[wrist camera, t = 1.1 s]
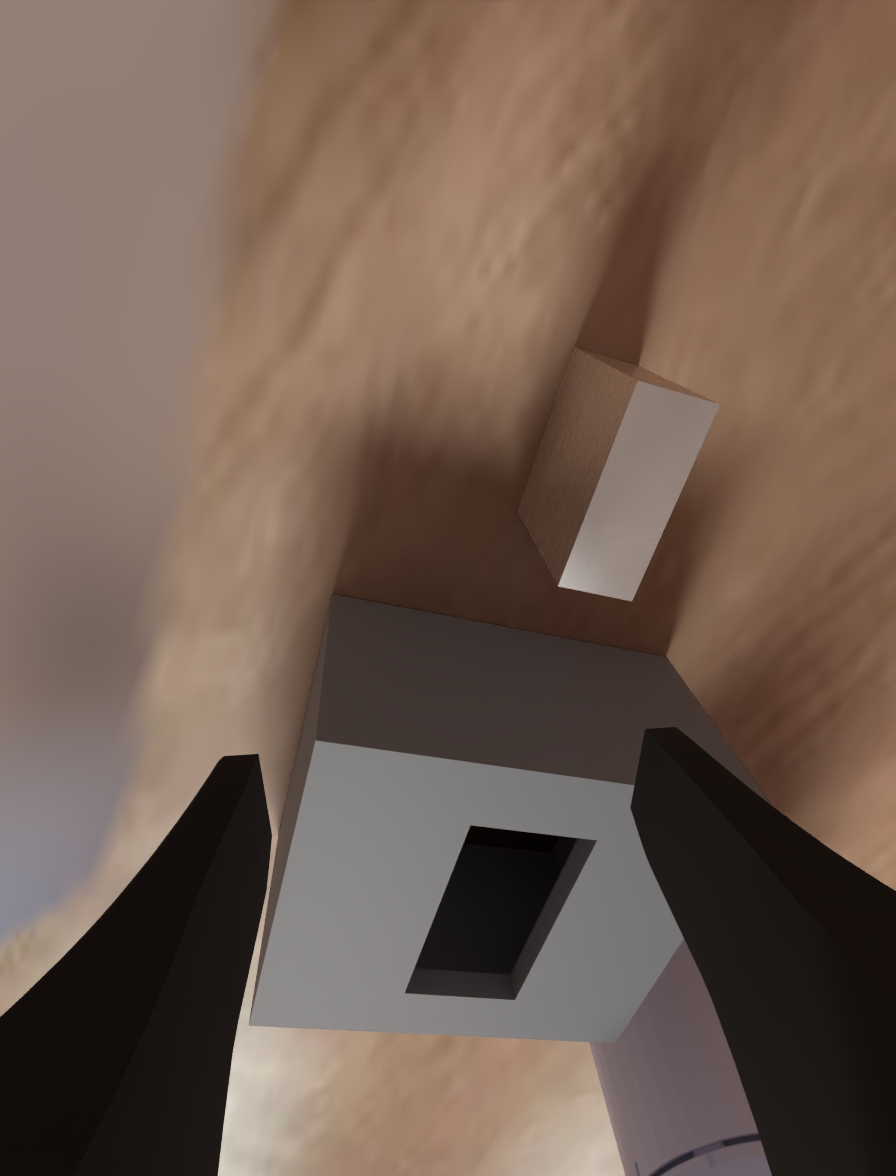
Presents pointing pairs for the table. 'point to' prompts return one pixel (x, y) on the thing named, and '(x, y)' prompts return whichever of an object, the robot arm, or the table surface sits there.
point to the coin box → (441, 822)
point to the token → (611, 472)
